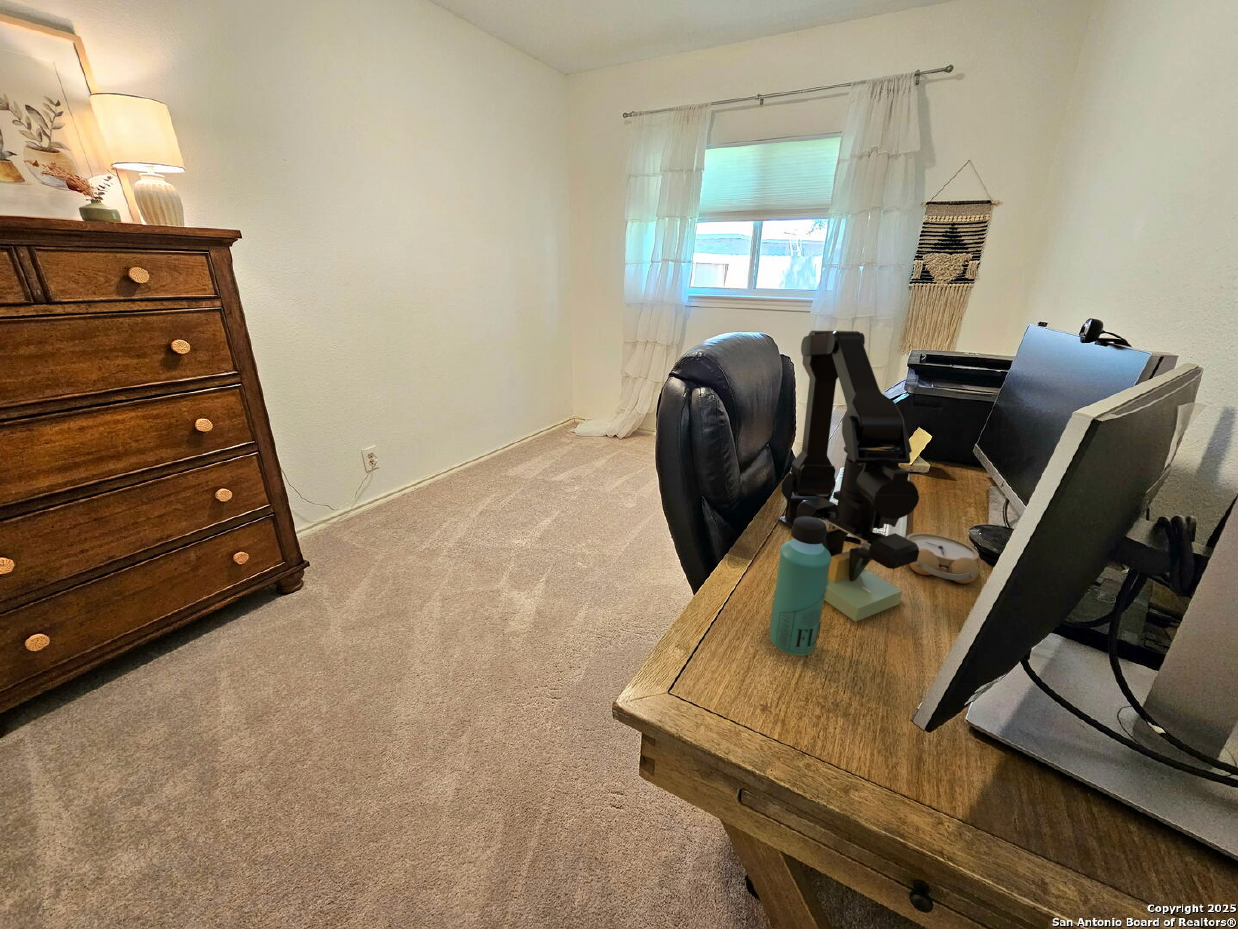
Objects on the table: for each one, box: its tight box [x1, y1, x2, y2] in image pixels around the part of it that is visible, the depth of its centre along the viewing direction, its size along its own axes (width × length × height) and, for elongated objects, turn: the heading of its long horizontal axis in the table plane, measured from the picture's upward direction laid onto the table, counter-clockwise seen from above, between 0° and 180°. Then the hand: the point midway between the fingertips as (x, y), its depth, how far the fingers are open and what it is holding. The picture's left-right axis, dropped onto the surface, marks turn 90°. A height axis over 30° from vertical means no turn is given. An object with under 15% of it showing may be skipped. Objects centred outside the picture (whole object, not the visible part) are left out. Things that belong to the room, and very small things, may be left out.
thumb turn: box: [828, 550, 850, 582], centre depth 79 cm, size 6×2×4 cm, turn 115°
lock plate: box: [824, 567, 903, 623], centre depth 80 cm, size 14×10×3 cm
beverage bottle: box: [768, 516, 831, 657], centre depth 64 cm, size 6×7×20 cm
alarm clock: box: [905, 532, 980, 585], centre depth 86 cm, size 11×5×15 cm
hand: (843, 574), depth 80 cm, fingers open, 3 cm apart
